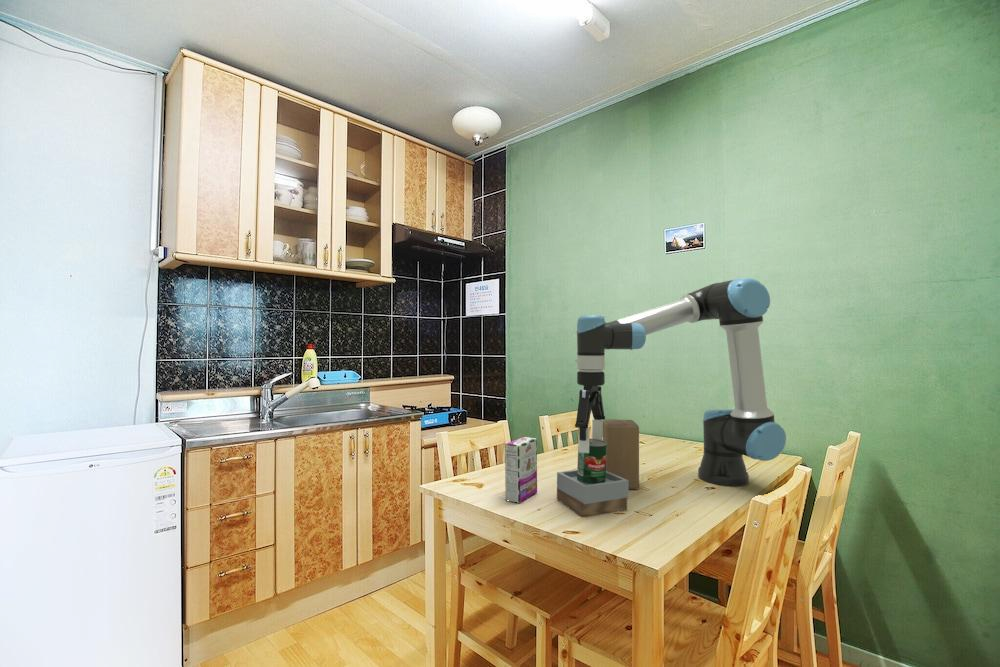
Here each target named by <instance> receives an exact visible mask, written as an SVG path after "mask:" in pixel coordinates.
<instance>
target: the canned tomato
mask: <svg viewBox="0 0 1000 667" xmlns="http://www.w3.org/2000/svg"><path fill="white" fill-rule="evenodd" d="M577 445H578V446H577V469H576V470H577V481H579V482H581V483H583V484H586V485H591V484H598V483H605V482H606V481H605V479H606V456H607V442H605V441H603V439H602V440H598V439H592V438H589V453H582V452H579V439H578V444H577Z"/></svg>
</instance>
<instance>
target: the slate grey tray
mask: <svg viewBox="0 0 1000 667" xmlns="http://www.w3.org/2000/svg"><path fill="white" fill-rule="evenodd" d="M605 481H606V482H605V483H598V484H591V485H586V484H583V483H581V482H579V481H577V469H574V470H573V469H572V470H565V471H558V472H556V489H557V488H558V489H560V490H561V491H563V492H565V493H566V494H568V495H570V496H572V497H573V498H575V499H577V500H578V501H580V502H582V503H583V504H590V503H596V502H602V501H608V500H614V499H621V498H627V499H628V498H629V489H628V488H629V481H628V480H626V479H624V478H622V477H619V476H617V475H615V474H612V473H610V472H608V471H606V479H605Z"/></svg>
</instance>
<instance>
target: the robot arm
mask: <svg viewBox="0 0 1000 667" xmlns="http://www.w3.org/2000/svg"><path fill="white" fill-rule="evenodd" d="M770 306H771V296H770V293H769V290H768V288H766V286H765V285H764V284H763V283H761V282H760V281H759V280H758V279H754V278H749V277H747V278H737V279H733V280H732V279H730V280H727V281H722V282H715V283H711V284H709V285H706V286H704V287H702V288H699V289H696V290H693V291H691V292H688V293H687V294H683V295H682V296H681V297H680V298H679V299H677V300H674V301H671V302H667V303H665V304H662V305H658V306H656V307H652V308H650V309H646V310H642V311H639V312H636V313H634V314H630V315H627V316H624V317H621V318H618V319H615V320H612V321H609V322H606V320H605V316H603V315H597V314H595V315H594V314H593V315H590V314H589V315H588V314H587V315H581V316H579V317H578V318H577V324H576V339H577V340H576V348H577V350H576V351H577V352H576V358H575V363H577V367H576V368H577V370H579V371H577V372H576V381H577V382H576V384H577V385H579V386H583V389H580V390H579V394H578V395H579V398H578V404H577V406H578V407H577V412H576V420H575V424H574V427H575V428H576V429H578V440H579V452H582V453H589V439H590V427H589V424H590V419H591V413H592V416H593V419H592V420H591V421H592V422H591V424H592V425H591V426H592V428H591V432H592V435H591V439H598V440H602V441H603V421H604V420H605V419H606V415H605V410H604V403H603V396H602V386H604V385H605V379H606V378H605V375H606V374H605V372H604V370H605V368H606V364H605V362H606V360H605V356H606V355H605V351H606V350H631V351H632V350H640V349H642V348H643V347H644V346H645V343H646V341H647V335H651V334H654V333H657V332H660V331H662V330H667V329H669V328H672V327H674V326H675V327H676V326H678V325H681V324H684V323H687V322H688V323H691V324H694V323H697V322H701V321H708V320H709V321H711V320H719V322H718V323H719V327H720V328H722V329H723V330H724V331H725V334H726V342H727V343H726V344H727V348H728V350H727V351H728V352H727V353H728V359H729V366H730V368H729V369H730V376H731V384H732V393H733V394H732V395H733V402H734V408H733V409H707V410H705V412H704V413H703V420H702V423H703V455H702V458H701V461H700V466H699V467H698V469H697V471H698V472H697V477H698V478H699V479H700V480H702V481H704V482H707V483H711V484H716V485H722V486H730V487H732V486H733V487H738V486H739V487H740V486H746V485H748V484H749V482H750V475H749V473H748V471H747V467H746V464H745V461H744V457H743V456H746V457H748V458H750V459H752V460H759V461H763V462H768V461H772V460H774V459H776V458H778V457H779V455H780V454H781V452H783V450H784V449H785V446H786V443H787V442H786V441H787V435H786V432H785V429H784V428H783V427H782V426H781V425H780V424H779V423H777V422H775V412H774V411H772V410H771V409H770V408H768V403H767V402H768V401H767V394H766V393H767V392H766V386H765V377H764V376H765V375H764V370H763V360H762V353H761V344H760V336H759V335H760V334H759V327H760V326H761V325H762V324H763V323H764V318H763V316H764V315H765V314H766V313H767V312H768V309H769V308H770Z"/></svg>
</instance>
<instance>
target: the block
mask: <svg viewBox="0 0 1000 667" xmlns="http://www.w3.org/2000/svg"><path fill="white" fill-rule="evenodd" d="M602 441H605V442H607V456H606V471H608V472H610V473H612V474H615V475H617V476H619V477H622V478H624V479H626V480H628V481H629V488H628V490H638V489H639V488H640V426H639V425H638V424H637V423H636V422H635V421H634V420H632V419H616V418H615V419H607V418H605V420H602Z"/></svg>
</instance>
